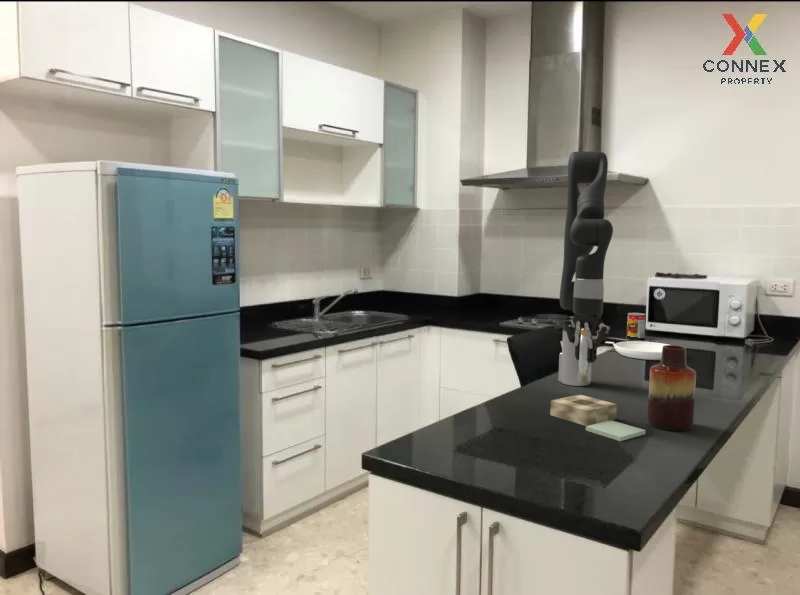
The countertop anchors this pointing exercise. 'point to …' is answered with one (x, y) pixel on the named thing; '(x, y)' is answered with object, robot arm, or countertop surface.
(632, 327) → the canned food
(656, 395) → the vase
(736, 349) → the countertop surface
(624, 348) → the pan
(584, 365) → the flashlight
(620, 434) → the pad
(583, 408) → the block
